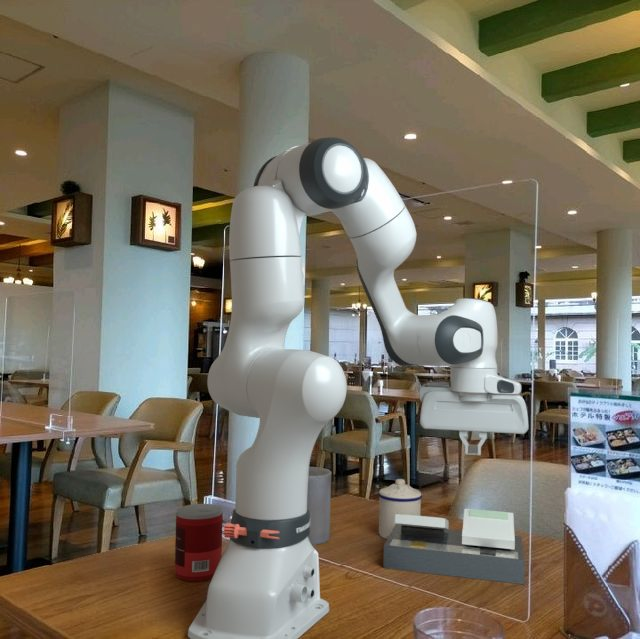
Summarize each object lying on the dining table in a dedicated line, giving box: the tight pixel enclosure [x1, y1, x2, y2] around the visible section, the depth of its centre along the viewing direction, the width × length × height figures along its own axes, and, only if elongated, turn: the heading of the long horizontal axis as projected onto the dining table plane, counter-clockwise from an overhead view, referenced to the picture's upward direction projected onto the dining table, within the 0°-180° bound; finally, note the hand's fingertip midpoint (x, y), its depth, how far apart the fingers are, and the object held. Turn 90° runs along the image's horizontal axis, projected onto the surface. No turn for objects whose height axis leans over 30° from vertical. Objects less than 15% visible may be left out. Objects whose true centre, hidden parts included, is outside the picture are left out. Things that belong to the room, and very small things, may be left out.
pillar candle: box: [307, 465, 332, 546], centre depth 128 cm, size 10×10×15 cm
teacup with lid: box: [377, 478, 423, 540], centre depth 132 cm, size 12×9×12 cm
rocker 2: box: [462, 508, 516, 550], centre depth 115 cm, size 10×9×2 cm
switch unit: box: [383, 524, 526, 585], centre depth 115 cm, size 14×24×5 cm, turn 74°
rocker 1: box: [395, 514, 450, 529], centre depth 118 cm, size 10×9×2 cm
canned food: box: [174, 503, 224, 583], centre depth 108 cm, size 8×8×11 cm
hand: (473, 454), depth 120 cm, fingers closed
